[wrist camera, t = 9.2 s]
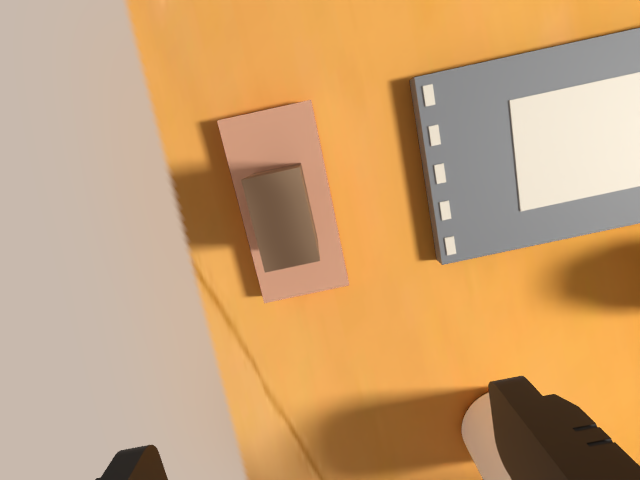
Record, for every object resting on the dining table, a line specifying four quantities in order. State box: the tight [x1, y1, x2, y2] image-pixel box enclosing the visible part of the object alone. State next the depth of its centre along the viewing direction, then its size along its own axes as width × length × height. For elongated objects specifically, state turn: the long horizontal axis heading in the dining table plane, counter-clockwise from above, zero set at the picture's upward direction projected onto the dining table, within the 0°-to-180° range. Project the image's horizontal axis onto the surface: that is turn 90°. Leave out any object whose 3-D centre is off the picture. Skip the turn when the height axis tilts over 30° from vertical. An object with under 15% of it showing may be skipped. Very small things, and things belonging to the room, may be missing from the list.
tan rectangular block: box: [217, 100, 349, 303], centre depth 24 cm, size 6×12×6 cm, turn 12°
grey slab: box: [410, 28, 640, 265], centre depth 26 cm, size 16×12×1 cm
